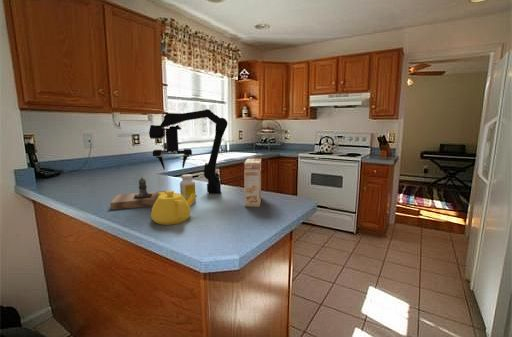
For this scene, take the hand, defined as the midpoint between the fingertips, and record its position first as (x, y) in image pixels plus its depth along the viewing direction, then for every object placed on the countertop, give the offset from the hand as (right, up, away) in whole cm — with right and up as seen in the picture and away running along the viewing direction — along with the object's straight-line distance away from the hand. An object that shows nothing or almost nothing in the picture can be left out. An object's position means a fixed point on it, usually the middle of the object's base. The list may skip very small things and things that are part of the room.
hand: (173, 169), depth 135 cm
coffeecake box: (+41, -15, -12) cm, 46 cm away
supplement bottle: (+11, -16, -13) cm, 23 cm away
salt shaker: (-10, -16, -13) cm, 22 cm away
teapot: (+11, -19, -33) cm, 40 cm away
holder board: (-10, -15, -13) cm, 23 cm away
